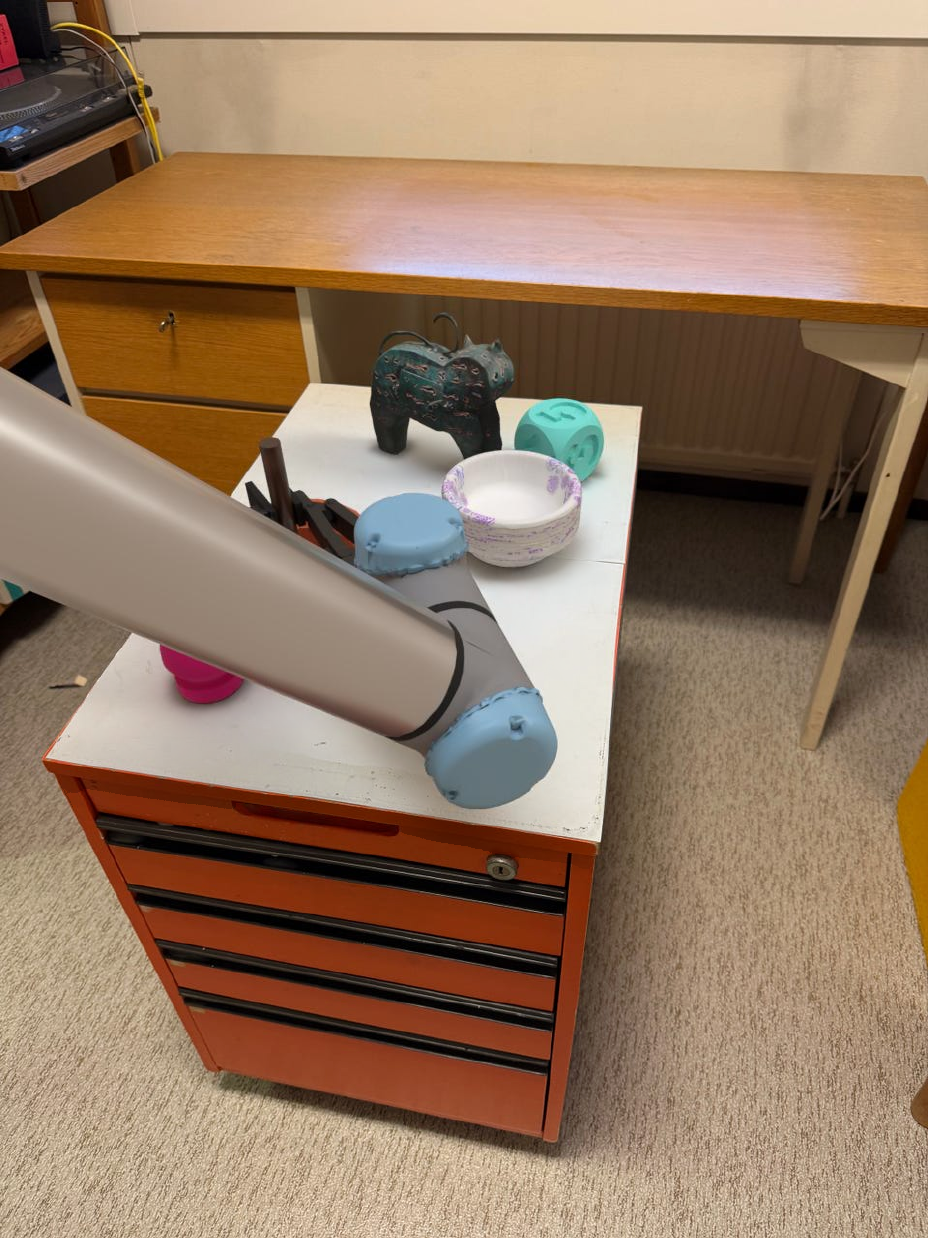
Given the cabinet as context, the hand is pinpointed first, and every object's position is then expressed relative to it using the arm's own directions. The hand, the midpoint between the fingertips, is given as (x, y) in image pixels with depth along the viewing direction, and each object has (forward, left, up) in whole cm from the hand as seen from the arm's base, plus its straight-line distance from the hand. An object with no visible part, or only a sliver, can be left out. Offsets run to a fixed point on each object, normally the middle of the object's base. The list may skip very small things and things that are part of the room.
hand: (263, 489), depth 90 cm
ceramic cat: (+22, +17, -11) cm, 30 cm away
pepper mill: (-8, -15, -11) cm, 20 cm away
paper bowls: (+26, -2, -11) cm, 28 cm away
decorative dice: (+36, +11, -11) cm, 39 cm away
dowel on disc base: (+2, -5, -10) cm, 11 cm away
